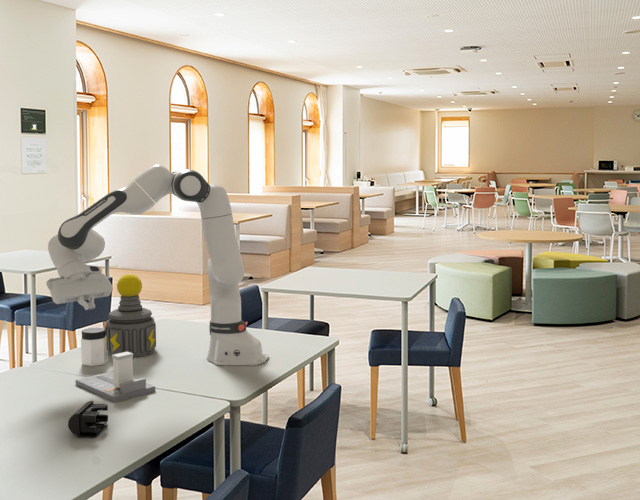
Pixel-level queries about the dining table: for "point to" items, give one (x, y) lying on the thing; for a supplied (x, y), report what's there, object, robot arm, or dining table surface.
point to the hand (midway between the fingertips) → (90, 308)
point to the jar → (94, 346)
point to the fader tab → (122, 368)
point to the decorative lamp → (130, 322)
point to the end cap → (88, 420)
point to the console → (106, 388)
